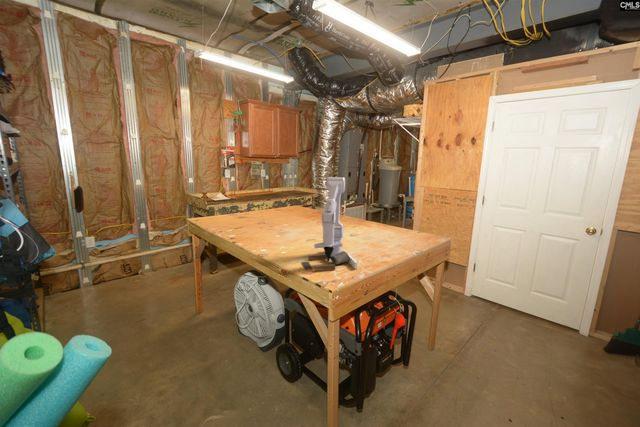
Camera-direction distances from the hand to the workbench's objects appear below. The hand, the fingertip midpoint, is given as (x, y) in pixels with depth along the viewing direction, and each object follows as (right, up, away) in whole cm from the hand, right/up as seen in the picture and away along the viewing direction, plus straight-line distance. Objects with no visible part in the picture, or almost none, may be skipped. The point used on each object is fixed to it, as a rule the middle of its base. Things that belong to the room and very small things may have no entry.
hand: (328, 260), depth 146 cm
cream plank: (+11, -1, +3) cm, 12 cm away
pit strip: (-11, -2, -2) cm, 11 cm away
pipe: (+1, +1, +1) cm, 2 cm away
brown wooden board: (-4, -2, -1) cm, 4 cm away
